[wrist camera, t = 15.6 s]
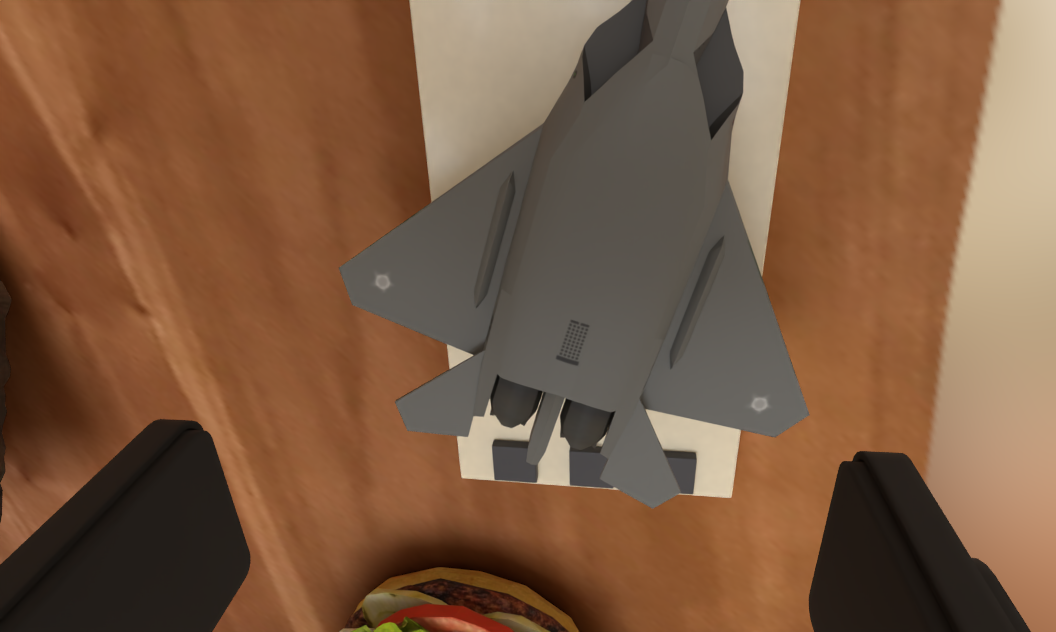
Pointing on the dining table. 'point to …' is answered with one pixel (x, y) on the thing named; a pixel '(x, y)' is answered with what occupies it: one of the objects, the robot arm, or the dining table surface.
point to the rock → (3, 376)
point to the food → (455, 605)
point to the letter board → (524, 104)
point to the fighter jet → (599, 262)
